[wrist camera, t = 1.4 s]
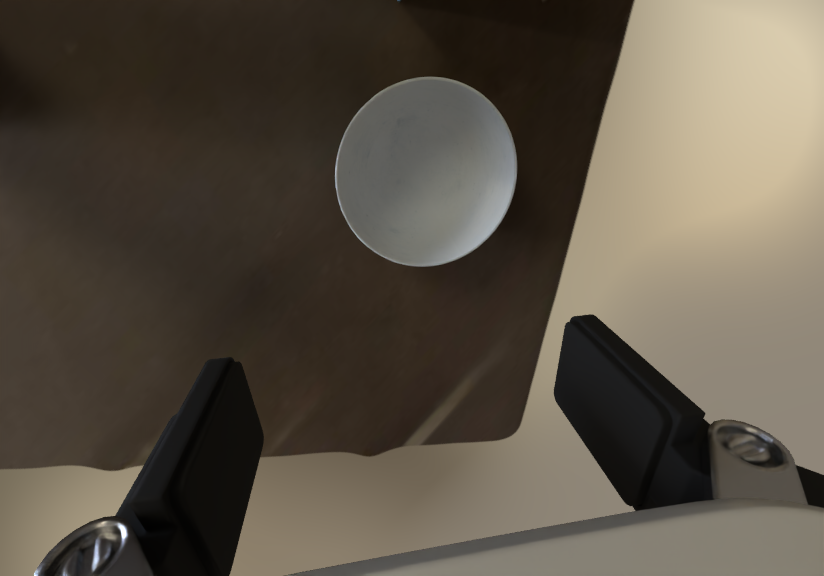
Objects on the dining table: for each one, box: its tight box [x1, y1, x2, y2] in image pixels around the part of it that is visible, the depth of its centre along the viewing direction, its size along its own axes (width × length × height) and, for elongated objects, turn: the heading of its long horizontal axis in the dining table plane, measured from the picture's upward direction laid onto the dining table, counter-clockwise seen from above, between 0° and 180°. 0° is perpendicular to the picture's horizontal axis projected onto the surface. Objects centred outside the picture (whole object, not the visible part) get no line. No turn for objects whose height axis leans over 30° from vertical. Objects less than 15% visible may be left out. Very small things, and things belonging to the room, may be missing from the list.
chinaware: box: [335, 77, 517, 267], centre depth 34 cm, size 15×15×8 cm
